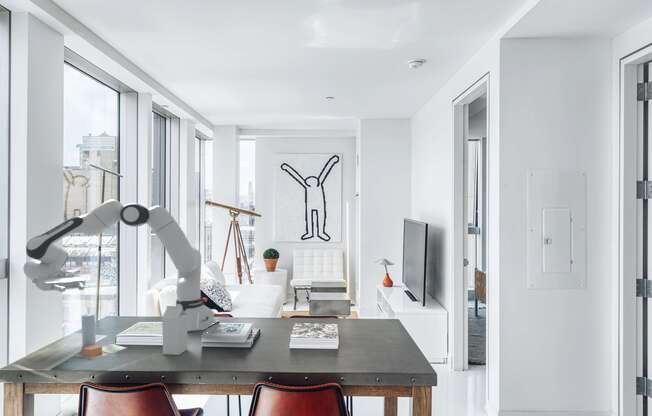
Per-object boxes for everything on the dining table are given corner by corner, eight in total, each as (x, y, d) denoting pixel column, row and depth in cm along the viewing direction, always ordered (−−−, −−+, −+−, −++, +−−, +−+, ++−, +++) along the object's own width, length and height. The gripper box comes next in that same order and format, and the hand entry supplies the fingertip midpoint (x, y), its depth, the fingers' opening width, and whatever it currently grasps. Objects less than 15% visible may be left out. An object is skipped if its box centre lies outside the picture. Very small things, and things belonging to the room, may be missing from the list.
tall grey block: (91, 345, 195) (90, 313, 195) (98, 347, 193) (97, 314, 192) (79, 348, 191) (79, 316, 190) (86, 350, 188) (86, 317, 188)
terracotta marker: (94, 351, 184) (94, 344, 184) (102, 353, 181) (102, 346, 181) (82, 355, 179) (82, 347, 179) (90, 357, 177) (90, 349, 177)
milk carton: (178, 355, 181) (177, 308, 181) (162, 354, 182) (161, 307, 182) (187, 349, 188) (186, 304, 187) (172, 348, 189) (171, 303, 189)
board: (111, 346, 194) (111, 343, 194) (127, 350, 188) (127, 347, 188) (74, 357, 180) (74, 355, 180) (91, 362, 174) (91, 359, 174)
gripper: (31, 272, 190) (53, 284, 184) (74, 270, 208) (95, 280, 203) (27, 287, 190) (48, 298, 184) (70, 283, 209) (91, 294, 203)
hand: (73, 289), depth 194 cm, fingers open, 8 cm apart
